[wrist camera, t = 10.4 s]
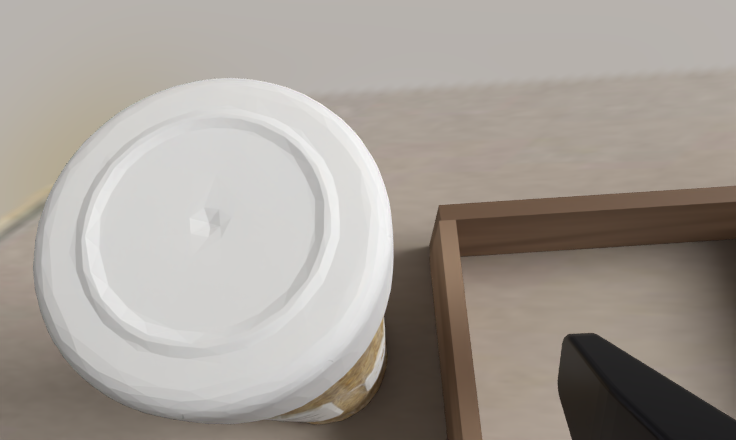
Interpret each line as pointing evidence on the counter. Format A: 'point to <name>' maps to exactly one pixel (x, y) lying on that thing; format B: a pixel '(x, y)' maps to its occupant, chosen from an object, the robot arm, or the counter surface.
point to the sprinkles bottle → (221, 258)
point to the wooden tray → (549, 233)
